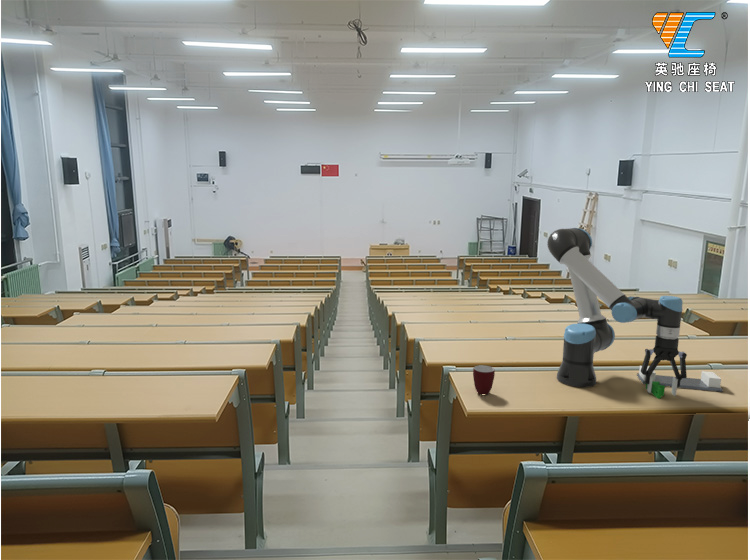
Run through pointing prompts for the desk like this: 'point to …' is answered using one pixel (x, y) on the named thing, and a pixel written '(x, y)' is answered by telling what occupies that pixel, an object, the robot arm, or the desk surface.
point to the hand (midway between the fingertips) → (661, 393)
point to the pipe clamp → (657, 389)
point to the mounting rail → (688, 381)
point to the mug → (483, 378)
